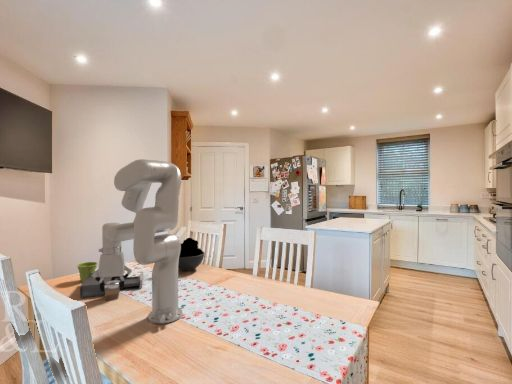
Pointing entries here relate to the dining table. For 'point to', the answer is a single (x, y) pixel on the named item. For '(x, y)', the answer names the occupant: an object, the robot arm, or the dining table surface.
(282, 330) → the dining table surface
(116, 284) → the disc
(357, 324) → the dining table surface
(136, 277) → the tray
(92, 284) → the player
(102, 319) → the dining table surface
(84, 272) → the plant pot
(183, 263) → the bowl of black rocks
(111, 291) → the block
